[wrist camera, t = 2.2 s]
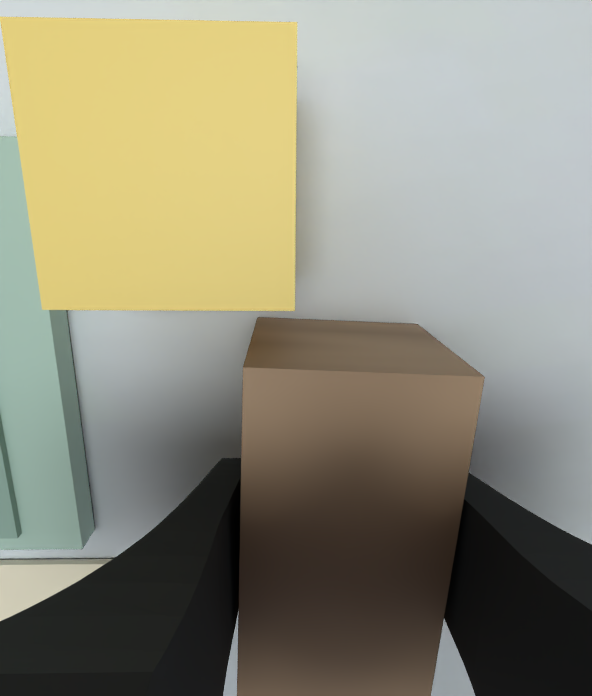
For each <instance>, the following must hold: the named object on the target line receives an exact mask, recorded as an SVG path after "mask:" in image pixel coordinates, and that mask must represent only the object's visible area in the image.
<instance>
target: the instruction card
mask: <svg viewBox="0 0 592 696" xmlns="http://www.w3.org/2000/svg"><path fill="white" fill-rule="evenodd" d="M111 560H112V559H44V560H0V621H2V620H4V619H6V618H8V617H11V616H13V615H15V614H17V613H19V612H21V611H23V610H25V609H27V608H29V607H31V606H33V605H35V604H37V603H39V602H41V601H43V600H45V599H47V598H49V597H50V596H52V595H54V594H56V593H58V592H60V591H61V590H63V589H65V588H67V587H69V586H70V585H72V584H74V583H76V582H77V581H79V580H81V579H82V578H84V577H85V576H87V575H89V574H90V573H92V572H93V571H95V570H96V569H98V568H100V567H101V566H103V565H104V564H106V563H107V562H109V561H111Z"/></svg>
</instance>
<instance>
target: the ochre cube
mask: <svg viewBox="0 0 592 696" xmlns="http://www.w3.org/2000/svg"><path fill="white" fill-rule="evenodd" d="M0 21H1V28H2V35H3V42H4V49H5V56H6V63H7V70H8V77H9V84H10V91H11V98H12V105H13V112H14V119H15V125H16V132H17V139H18V146H19V153H20V160H21V167H22V174H23V181H24V188H25V195H26V202H27V209H28V216H29V223H30V229H31V236H32V243H33V250H34V257H35V264H36V271H37V278H38V285H39V292H40V299H41V306H42V310H182V311H295V235H296V107H297V22H258V21H204V20H150V19H95V18H41V17H0Z"/></svg>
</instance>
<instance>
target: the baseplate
mask: <svg viewBox="0 0 592 696" xmlns="http://www.w3.org/2000/svg"><path fill="white" fill-rule="evenodd" d="M94 530H95V527H94V520H93V512H92V504H91V496H90V489H89V481H88V473H87V466H86V458H85V450H84V443H83V435H82V427H81V419H80V412H79V404H78V396H77V389H76V381H75V373H74V365H73V358H72V350H71V342H70V335H69V327H68V319H67V312H66V310H42V306H41V299H40V292H39V285H38V278H37V271H36V264H35V257H34V250H33V243H32V236H31V229H30V223H29V216H28V209H27V202H26V195H25V188H24V181H23V174H22V167H21V160H20V153H19V146H18V139H17V137H0V550H24V549H83V547H84V546H85V544H86V543H87V541H88V539H89V538H90V536H91V534H92V533H93V531H94Z"/></svg>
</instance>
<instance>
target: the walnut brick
mask: <svg viewBox="0 0 592 696" xmlns="http://www.w3.org/2000/svg"><path fill="white" fill-rule="evenodd" d="M484 378H485V377H484V376H483V375H482V374H480V373H479V372H478V371H476V370H475V369H474V368H473V367H471V366H470V365H469V364H468V363H466V362H465V361H464V360H462V359H461V358H460V357H459V356H457V355H456V354H455V353H454V352H452V351H451V350H450V349H448V348H447V347H446V346H445V345H443V344H442V343H441V342H440V341H438V340H437V339H436V338H434V337H433V336H432V335H431V334H429V333H428V332H427V331H426V330H424V329H423V328H422V327H420V326H419V325H418V324H404V323H380V322H357V321H334V320H311V319H288V318H264V317H258V318H257V321H256V325H255V328H254V331H253V335H252V338H251V342H250V345H249V348H248V352H247V355H246V359H245V362H244V366H243V393H242V448H241V504H240V560H239V615H238V671H237V696H431V691H432V685H433V679H434V673H435V667H436V661H437V655H438V649H439V643H440V638H441V632H442V626H443V620H444V614H445V608H446V602H447V596H448V590H449V584H450V578H451V573H452V567H453V561H454V555H455V549H456V543H457V537H458V531H459V525H460V519H461V513H462V508H463V502H464V496H465V490H466V484H467V478H468V472H469V466H470V460H471V454H472V448H473V443H474V437H475V431H476V425H477V419H478V413H479V407H480V401H481V395H482V389H483V383H484Z"/></svg>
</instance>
